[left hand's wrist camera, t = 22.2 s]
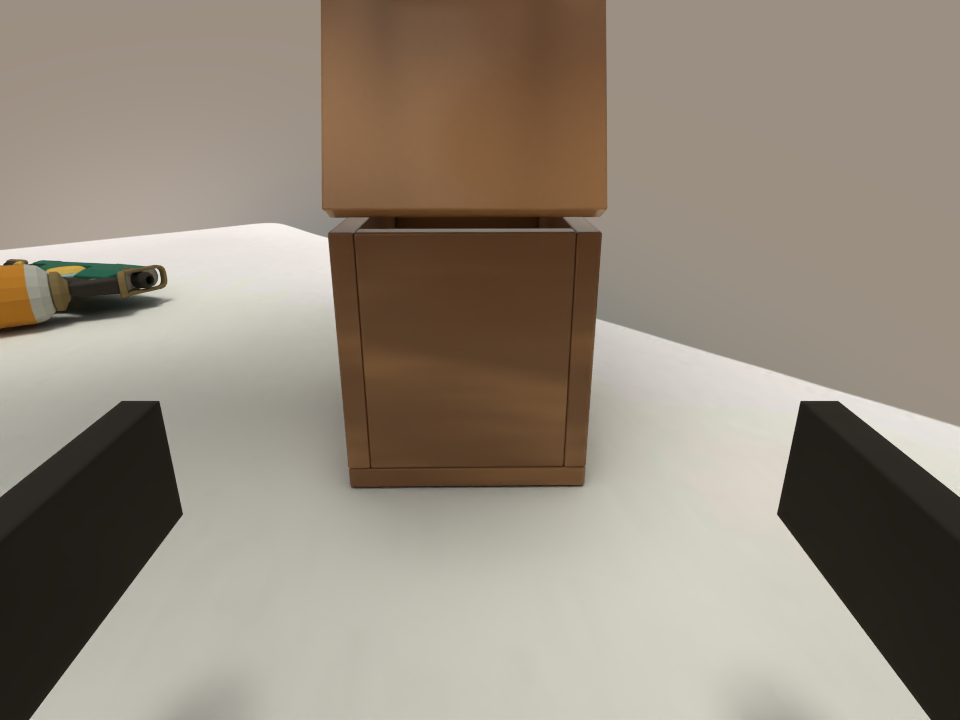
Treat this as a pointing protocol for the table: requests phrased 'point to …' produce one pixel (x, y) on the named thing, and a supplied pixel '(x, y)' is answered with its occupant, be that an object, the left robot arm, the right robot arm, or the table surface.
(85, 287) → the spray gun
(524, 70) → the lid
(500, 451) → the chest
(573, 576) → the table surface
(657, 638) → the table surface
